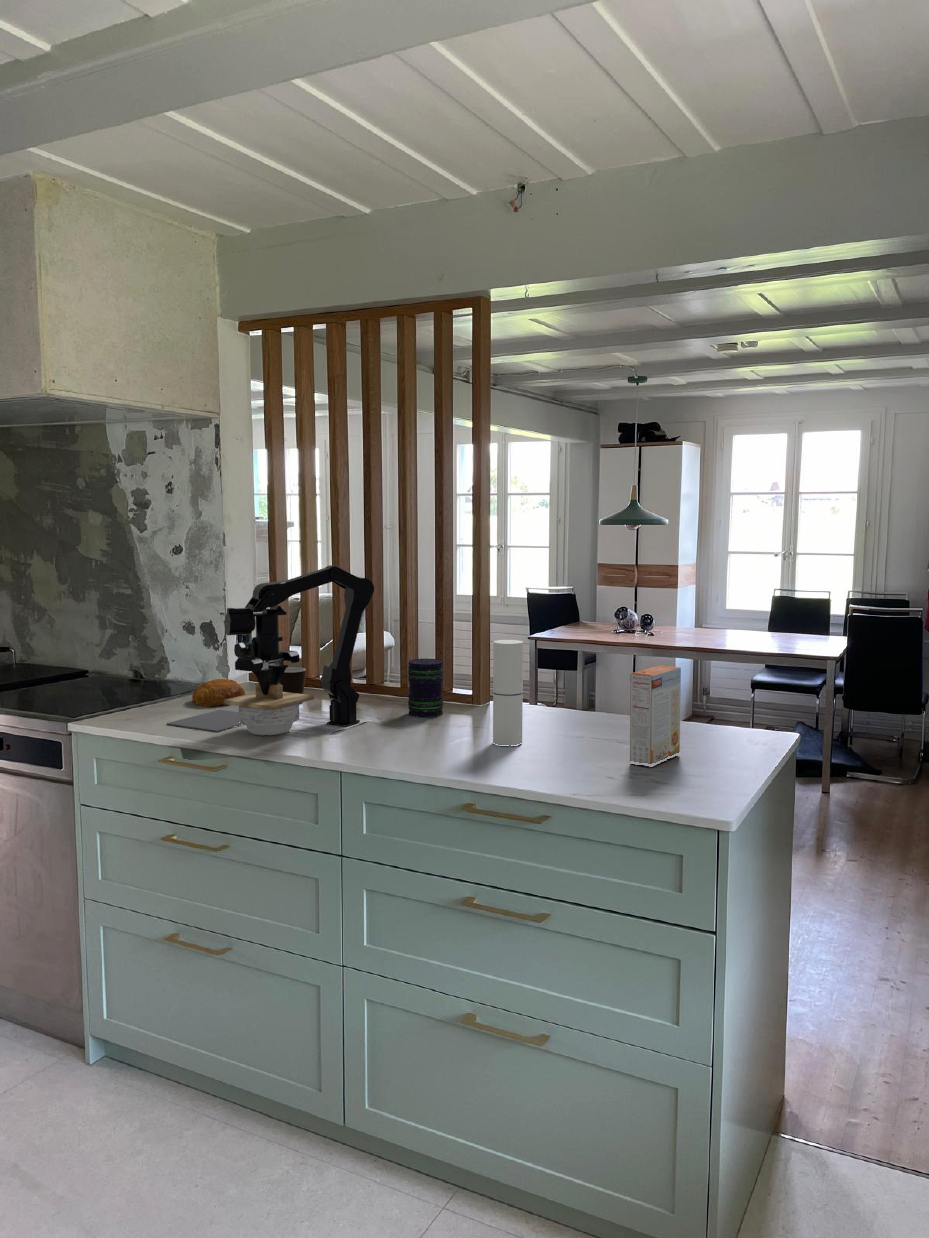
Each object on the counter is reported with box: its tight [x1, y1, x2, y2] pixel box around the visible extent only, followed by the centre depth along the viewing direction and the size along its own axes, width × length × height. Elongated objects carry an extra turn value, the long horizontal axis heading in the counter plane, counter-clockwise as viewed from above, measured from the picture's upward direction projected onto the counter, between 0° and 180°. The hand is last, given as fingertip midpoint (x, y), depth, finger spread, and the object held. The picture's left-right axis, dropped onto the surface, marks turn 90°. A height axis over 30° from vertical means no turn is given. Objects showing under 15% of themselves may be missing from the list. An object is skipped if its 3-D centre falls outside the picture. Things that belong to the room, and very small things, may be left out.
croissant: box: [191, 678, 246, 708], centre depth 276 cm, size 14×16×8 cm
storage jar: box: [407, 658, 444, 719], centre depth 259 cm, size 10×10×15 cm
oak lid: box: [224, 682, 315, 710], centre depth 237 cm, size 16×16×4 cm
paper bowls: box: [238, 703, 300, 736], centre depth 237 cm, size 15×15×8 cm
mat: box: [165, 709, 241, 733], centre depth 250 cm, size 18×20×1 cm
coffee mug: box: [278, 667, 307, 706], centre depth 275 cm, size 12×9×10 cm
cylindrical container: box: [492, 639, 524, 746], centre depth 225 cm, size 7×7×25 cm
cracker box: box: [629, 664, 682, 764], centre depth 210 cm, size 14×6×21 cm, turn 141°
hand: (268, 693), depth 237 cm, fingers closed on oak lid, 2 cm apart
